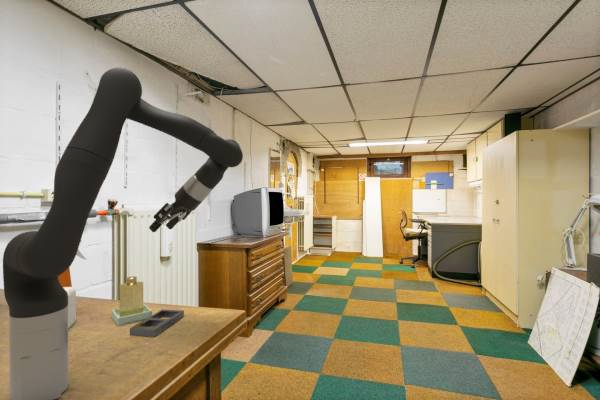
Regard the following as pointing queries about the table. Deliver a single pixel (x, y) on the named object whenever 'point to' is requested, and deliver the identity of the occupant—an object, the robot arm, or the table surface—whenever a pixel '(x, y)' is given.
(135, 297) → the gold perfume bottle
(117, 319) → the parts tray
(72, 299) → the photo printer
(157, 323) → the grey metal holder frame
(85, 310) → the table surface
